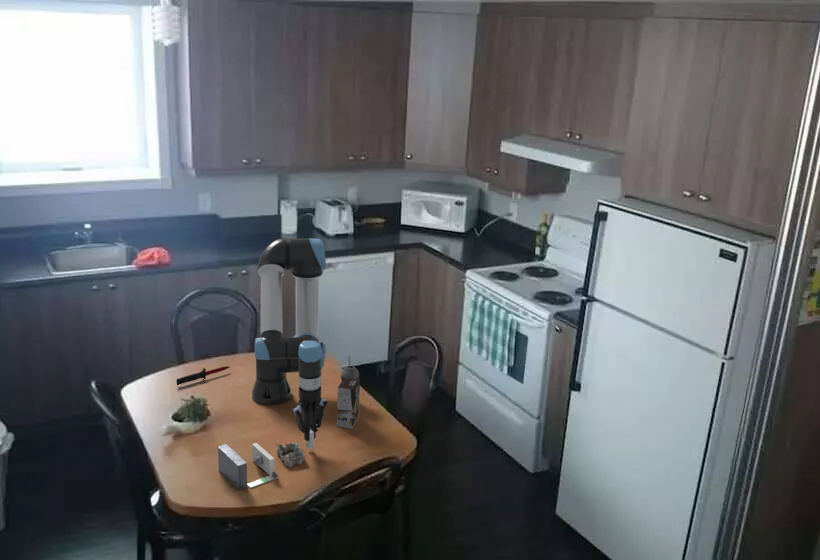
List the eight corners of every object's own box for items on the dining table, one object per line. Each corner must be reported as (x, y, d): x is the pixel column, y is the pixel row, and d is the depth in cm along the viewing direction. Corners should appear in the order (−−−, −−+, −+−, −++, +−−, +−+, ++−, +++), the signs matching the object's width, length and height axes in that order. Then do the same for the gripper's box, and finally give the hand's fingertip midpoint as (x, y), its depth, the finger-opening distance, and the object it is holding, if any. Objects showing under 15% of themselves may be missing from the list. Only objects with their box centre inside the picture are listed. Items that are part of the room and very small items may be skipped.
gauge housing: (218, 470, 260) (217, 446, 257) (255, 457, 268) (254, 434, 266) (240, 492, 249) (240, 467, 246) (278, 478, 257) (277, 454, 254)
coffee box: (353, 429, 289) (354, 389, 284) (336, 426, 291) (337, 387, 285) (359, 417, 298) (360, 378, 293) (343, 415, 299) (344, 376, 294)
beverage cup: (344, 408, 304) (345, 361, 297) (337, 400, 310) (338, 354, 303) (361, 405, 307) (363, 358, 301) (354, 397, 313) (355, 351, 307)
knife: (178, 388, 314) (177, 376, 312) (176, 386, 315) (175, 375, 313) (231, 372, 329) (231, 361, 328) (229, 371, 330) (229, 360, 329)
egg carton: (275, 453, 272) (274, 442, 271) (295, 448, 276) (295, 438, 274) (284, 469, 263) (284, 458, 262) (306, 464, 267) (306, 453, 265)
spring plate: (248, 461, 266) (247, 445, 264) (256, 458, 268) (256, 442, 266) (269, 480, 255) (269, 464, 253) (278, 477, 257) (277, 461, 255)
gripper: (299, 395, 259) (299, 458, 267) (332, 385, 267) (331, 446, 275) (287, 387, 264) (288, 448, 272) (320, 377, 273) (319, 437, 280)
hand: (309, 447), depth 273 cm, fingers closed
